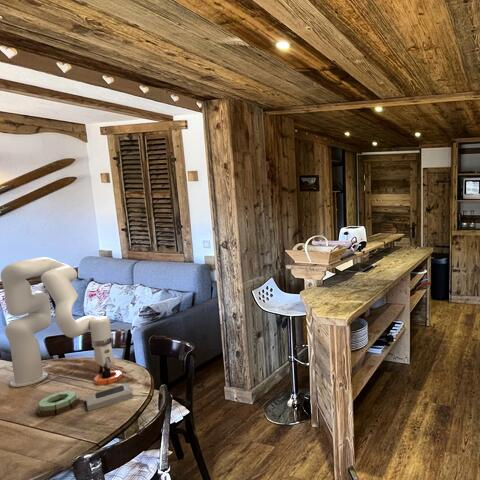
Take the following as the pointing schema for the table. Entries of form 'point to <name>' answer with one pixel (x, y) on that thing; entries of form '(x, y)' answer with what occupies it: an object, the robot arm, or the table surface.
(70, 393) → the green ring
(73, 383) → the table surface
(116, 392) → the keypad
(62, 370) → the table surface
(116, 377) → the terracotta ring
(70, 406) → the walnut ring
